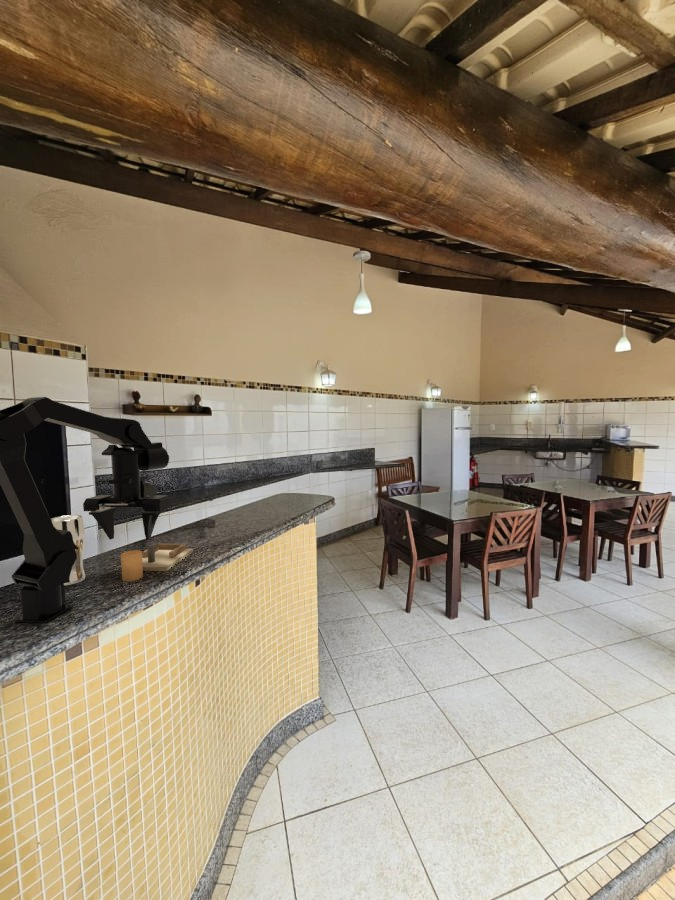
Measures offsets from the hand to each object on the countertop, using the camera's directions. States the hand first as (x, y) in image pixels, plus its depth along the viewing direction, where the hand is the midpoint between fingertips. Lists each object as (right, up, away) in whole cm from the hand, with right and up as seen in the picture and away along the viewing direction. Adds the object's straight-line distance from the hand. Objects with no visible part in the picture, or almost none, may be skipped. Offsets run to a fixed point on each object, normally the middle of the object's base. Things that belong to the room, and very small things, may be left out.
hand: (130, 539), depth 93 cm
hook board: (+1, -9, +12) cm, 15 cm away
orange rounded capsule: (0, -9, +1) cm, 9 cm away
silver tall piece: (-14, -10, 0) cm, 17 cm away
